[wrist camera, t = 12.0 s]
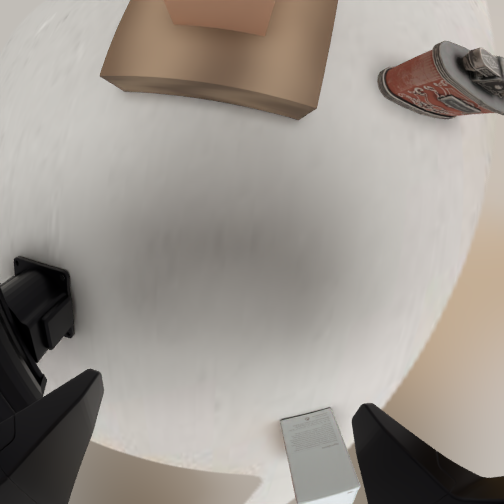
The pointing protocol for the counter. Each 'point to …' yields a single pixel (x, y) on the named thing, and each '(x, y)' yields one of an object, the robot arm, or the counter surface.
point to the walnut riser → (225, 57)
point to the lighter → (447, 82)
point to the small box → (319, 460)
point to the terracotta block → (223, 14)
